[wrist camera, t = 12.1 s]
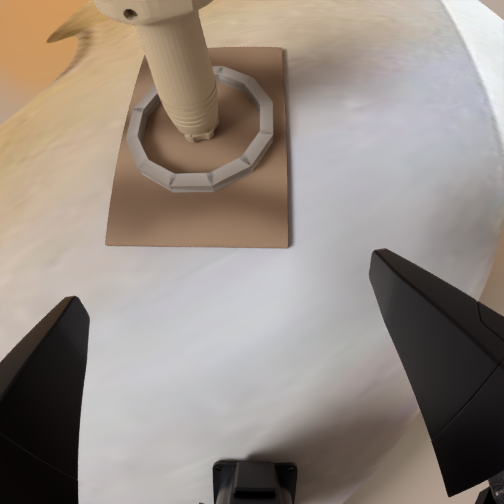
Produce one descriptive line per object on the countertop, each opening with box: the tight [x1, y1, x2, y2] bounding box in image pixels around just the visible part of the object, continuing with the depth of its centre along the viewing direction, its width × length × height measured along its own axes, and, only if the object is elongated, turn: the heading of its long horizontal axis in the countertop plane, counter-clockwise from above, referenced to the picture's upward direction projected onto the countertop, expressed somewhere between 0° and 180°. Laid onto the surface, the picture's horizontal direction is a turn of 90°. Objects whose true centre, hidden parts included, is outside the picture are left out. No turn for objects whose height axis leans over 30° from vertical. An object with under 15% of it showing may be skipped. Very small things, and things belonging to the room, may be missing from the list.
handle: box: [93, 0, 219, 143], centre depth 16 cm, size 5×6×15 cm
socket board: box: [105, 47, 288, 248], centre depth 23 cm, size 20×14×2 cm
